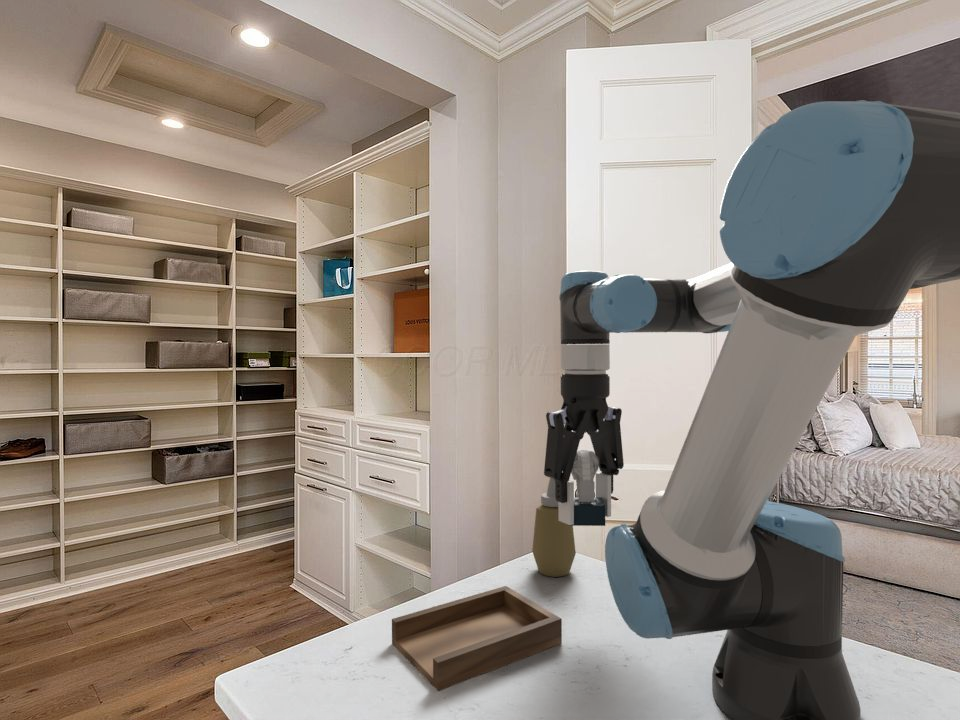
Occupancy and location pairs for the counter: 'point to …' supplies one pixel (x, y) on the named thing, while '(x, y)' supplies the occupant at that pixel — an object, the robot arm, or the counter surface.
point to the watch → (587, 491)
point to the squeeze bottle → (552, 537)
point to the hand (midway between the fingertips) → (585, 518)
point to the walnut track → (474, 635)
